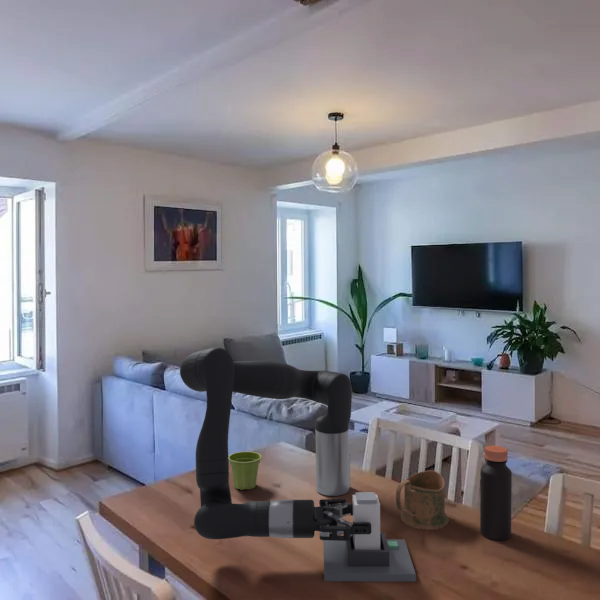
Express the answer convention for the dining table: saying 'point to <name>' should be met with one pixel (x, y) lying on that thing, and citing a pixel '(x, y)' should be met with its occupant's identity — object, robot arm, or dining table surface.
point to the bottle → (495, 494)
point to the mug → (423, 501)
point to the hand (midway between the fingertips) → (369, 518)
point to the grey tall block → (367, 520)
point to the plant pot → (245, 469)
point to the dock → (368, 562)
